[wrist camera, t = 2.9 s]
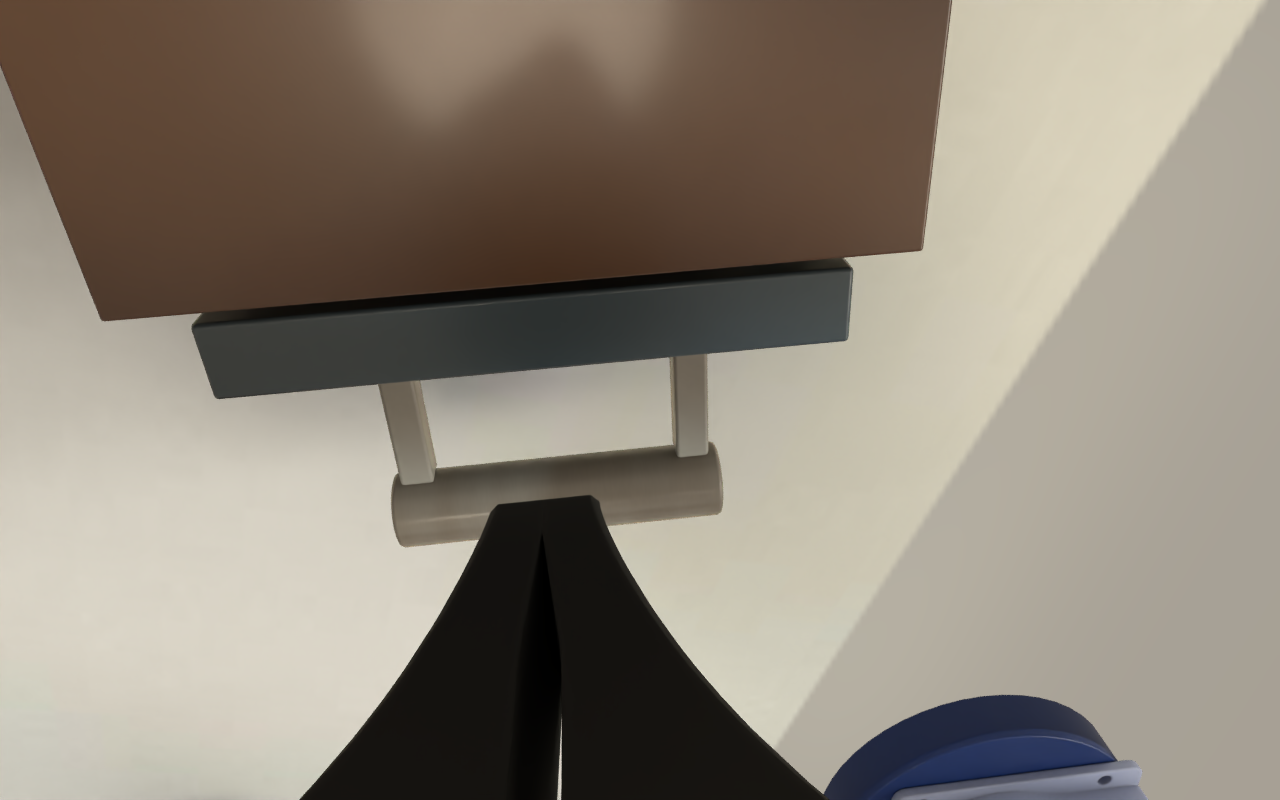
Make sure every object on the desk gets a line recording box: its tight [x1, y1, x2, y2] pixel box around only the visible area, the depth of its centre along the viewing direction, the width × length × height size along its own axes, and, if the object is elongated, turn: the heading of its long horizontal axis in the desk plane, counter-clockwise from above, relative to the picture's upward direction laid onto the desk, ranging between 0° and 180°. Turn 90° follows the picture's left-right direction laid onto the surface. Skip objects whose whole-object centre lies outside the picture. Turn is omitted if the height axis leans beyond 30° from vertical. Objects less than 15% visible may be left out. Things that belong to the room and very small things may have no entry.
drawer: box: [192, 258, 853, 547], centre depth 13 cm, size 16×9×5 cm, turn 3°
